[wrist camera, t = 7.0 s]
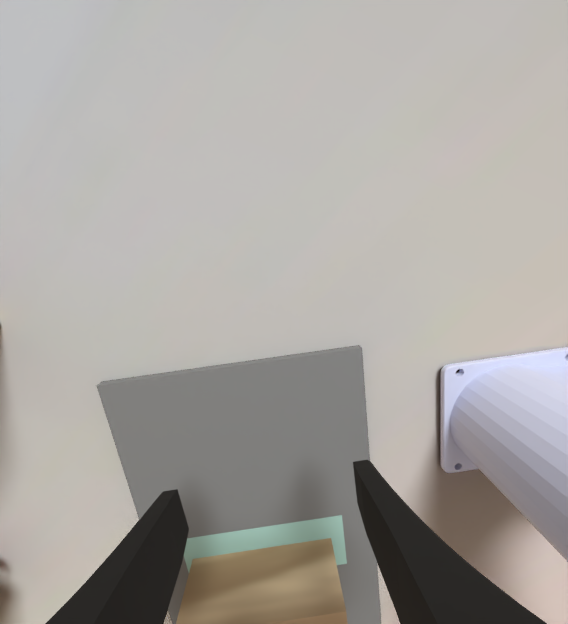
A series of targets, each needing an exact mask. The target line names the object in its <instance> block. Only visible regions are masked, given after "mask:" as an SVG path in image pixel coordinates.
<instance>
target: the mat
mask: <svg viewBox="0 0 568 624" xmlns="http://www.w3.org/2000/svg"><path fill="white" fill-rule="evenodd" d="M97 388H98V392H99V395H100V398H101V401H102V404H103V407H104V410H105V413H106V417H107V420H108V423H109V426H110V429H111V432H112V435H113V439H114V442H115V445H116V448H117V451H118V454H119V457H120V460H121V464H122V467H123V470H124V473H125V476H126V479H127V482H128V486H129V489H130V492H131V495H132V498H133V501H134V504H135V507H136V511H137V514H138V517H139V520H140V519H141V517H142V516H143V515H144V514H145V512H146V511H147V510H148V509H149V507H150V506H151V505H152V504H153V503H154V501H155V500H156V499H157V498H158V497H159V495H160V494H161V493H162V492H163V491H169V490H176V489H178V493H179V496H180V499H181V503H182V506H183V510H184V513H185V517H186V520H187V523H188V527H189V532H188V537H187V542H186V547H185V552H184V556H183V561H182V565H181V568H180V571H179V575H178V578H177V581H176V584H175V588H174V591H173V594H172V597H171V601H170V604H169V607H168V611H169V614H170V617H171V620H172V623H173V624H176V622H177V618H178V614H179V610H180V606H181V602H182V598H183V595H184V591H185V587H186V583H187V579H188V575H189V571H190V567H191V564H192V560H193V559H196V558H202V557H209V556H216V555H222V554H229V553H235V552H242V551H248V550H255V549H262V548H268V547H275V546H281V545H288V544H294V543H301V542H308V541H314V540H321V539H327V538H331V540H332V545H333V550H334V555H335V560H336V564H337V569H338V574H339V579H340V584H341V589H342V593H343V598H344V603H345V608H346V614H347V623H348V624H381V613H380V599H379V584H378V570H377V560H376V558H375V555H374V552H373V550H372V547H371V545H370V542H369V539H368V537H367V534H366V531H365V528H364V524H363V521H362V517H361V514H360V510H359V507H358V503H357V495H356V486H355V477H354V468H353V462H355V461H361V460H369V461H370V456H369V442H368V427H367V413H366V399H365V385H364V370H363V356H362V348H361V347H360V346H359V345H358V346H351V347H344V348H337V349H329V350H322V351H315V352H308V353H301V354H294V355H287V356H280V357H273V358H266V359H259V360H252V361H245V362H238V363H231V364H223V365H216V366H209V367H202V368H195V369H188V370H181V371H174V372H167V373H160V374H153V375H146V376H139V377H132V378H125V379H117V380H110V381H103V382H101V383H100V384H98V385H97Z"/></svg>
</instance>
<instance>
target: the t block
mask: <svg viewBox="0 0 568 624" xmlns="http://www.w3.org/2000/svg"><path fill="white" fill-rule="evenodd" d="M176 624H348V623H347V614H346V608H345V603H344V598H343V593H342V589H341V584H340V579H339V574H338V569H337V564H336V560H335V555H334V550H333V545H332V540H331V538H327V539H321V540H314V541H308V542H301V543H294V544H288V545H281V546H275V547H268V548H262V549H255V550H248V551H242V552H235V553H229V554H222V555H216V556H209V557H202V558H196V559H193V560H192V564H191V567H190V571H189V575H188V579H187V583H186V587H185V591H184V595H183V598H182V602H181V606H180V610H179V614H178V618H177V622H176Z"/></svg>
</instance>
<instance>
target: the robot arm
mask: <svg viewBox="0 0 568 624" xmlns="http://www.w3.org/2000/svg"><path fill="white" fill-rule="evenodd" d="M458 369H460V370H459V372H458V373H456V371H457V370H458ZM441 467H442V469H443V470H444V471H445V472H446V473H455V472H462V471H468V470H475V469H479V470H480V471H481V472H482V473H483V474H484V475H485V476H486V477H487V478H488V479H489V480H490V481H491V482H492V483H493V484H494V485H495V486H496V487H497V488H498V489H499V490H500V491H501V493H502V494H503V495H504V496H505V497H506V498H507V499H508V500H509V501H510V502H511V503H512V504H513V505H514V506H515V507H516V508H517V509H518V510H519V511H520V512H521V513H522V514H523V515H524V517H525V518H526V519H527V520H528V521H529V522H530V523H531V524H532V525H533V526H534V527H535V528H536V529H537V530H538V531H539V532H540V533H541V534H542V535H543V536H544V537H545V538H546V540H547V541H548V542H549V543H550V544H551V545H552V546H553V547H554V548H555V549H556V550H557V551H558V552H559V553H560V554H561V555H562V556H563V557H564V558H565V559H566V560H567V561H568V347H565V348H558V349H551V350H544V351H537V352H530V353H523V354H516V355H509V356H502V357H495V358H488V359H481V360H474V361H467V362H460V363H453V364H447V365H445V366H444V367H443V368H442V369H441ZM353 468H354V477H355V486H356V495H357V503H358V507H359V510H360V514H361V517H362V521H363V524H364V528H365V531H366V534H367V537H368V539H369V542H370V545H371V547H372V550H373V552H374V555H375V558H376V560H377V563H378V565H379V568H380V571H381V573H382V576H383V578H384V581H385V584H386V586H387V589H388V591H389V594H390V596H391V599H392V602H393V604H394V607H395V609H396V612H397V615H398V618H399V621H400V624H547V623H545V622H544V621H543V620H541V619H540V618H538V617H537V616H536V615H534V614H533V613H531V612H530V611H529V610H527V609H526V608H525V607H523V606H522V605H520V604H519V603H518V602H517V601H515V600H514V599H513V598H511V597H510V596H509V595H508V594H506V593H505V592H504V591H502V590H501V589H500V588H499V587H497V586H496V585H495V584H493V583H492V582H491V581H490V580H488V579H487V578H486V577H484V576H483V575H482V574H481V573H480V572H478V571H477V570H476V569H475V568H474V567H472V566H471V565H470V564H469V563H468V562H466V561H465V560H464V559H463V558H462V557H461V556H459V555H458V554H457V553H456V552H455V551H454V550H453V549H452V548H450V547H449V546H448V545H447V544H446V543H445V542H444V541H443V540H442V539H441V538H440V537H438V536H437V535H436V534H435V533H434V532H433V531H432V530H431V529H430V528H429V527H428V526H427V525H426V524H425V523H424V522H423V521H422V520H421V519H420V518H419V517H418V516H417V515H416V514H415V513H414V512H413V511H412V510H411V509H410V508H409V506H408V505H407V504H406V503H405V502H404V501H403V500H402V499H401V498H400V497H399V496H398V495H397V493H396V492H395V491H394V490H393V489H392V488H391V487H390V485H389V484H388V483H387V482H386V481H385V479H384V478H383V477H382V476H381V475H380V473H379V472H378V471H377V469H376V468H375V467H374V466H373V464H372V463H371V462H370V461H369V460H361V461H355V462H353ZM188 532H189V527H188V523H187V520H186V517H185V513H184V510H183V506H182V503H181V499H180V496H179V493H178V489H176V490H169V491H163V492H162V493H161V494H160V495H159V497H158V498H157V499H156V500H155V501H154V503H153V504H152V505H151V506H150V507H149V509H148V510H147V511H146V512H145V514H144V515H143V516H142V517H141V519H140V520H139V521H138V522H137V523H136V525H135V526H134V527H133V528H132V530H131V531H130V532H129V533H128V534H127V536H126V537H125V538H124V539H123V540H122V542H121V543H120V544H119V545H118V546H117V548H116V549H115V550H114V551H113V552H112V553H111V554H110V555H109V557H108V558H107V559H106V560H105V561H104V562H103V563H102V565H101V566H100V567H99V568H98V569H97V570H96V571H95V572H94V574H93V575H92V576H91V577H90V578H89V579H88V580H87V581H86V583H85V584H84V585H83V586H82V587H81V588H80V589H79V590H78V591H77V592H76V593H75V594H74V595H73V596H72V597H71V598H70V599H69V600H68V602H67V603H66V604H65V605H64V606H63V607H62V608H61V609H60V610H59V611H58V612H57V613H56V614H55V615H54V616H53V617H52V618H51V619H50V620H49V621H48V622H47V623H46V624H163V623H164V620H165V617H166V613H167V610H168V607H169V604H170V601H171V597H172V594H173V591H174V588H175V584H176V581H177V578H178V575H179V571H180V568H181V565H182V561H183V556H184V552H185V547H186V542H187V537H188Z"/></svg>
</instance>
